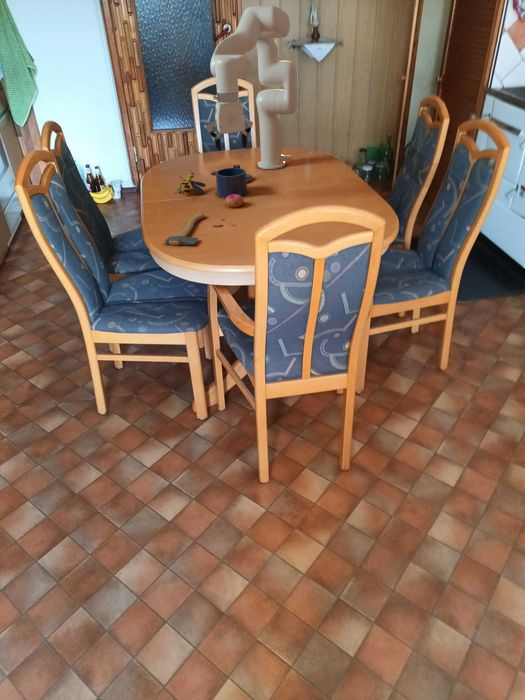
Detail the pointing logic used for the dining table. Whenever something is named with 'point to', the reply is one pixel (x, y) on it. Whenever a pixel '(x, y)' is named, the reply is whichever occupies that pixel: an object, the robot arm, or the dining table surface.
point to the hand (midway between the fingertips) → (231, 148)
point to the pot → (231, 181)
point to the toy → (187, 188)
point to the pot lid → (239, 167)
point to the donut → (234, 200)
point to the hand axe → (185, 233)
